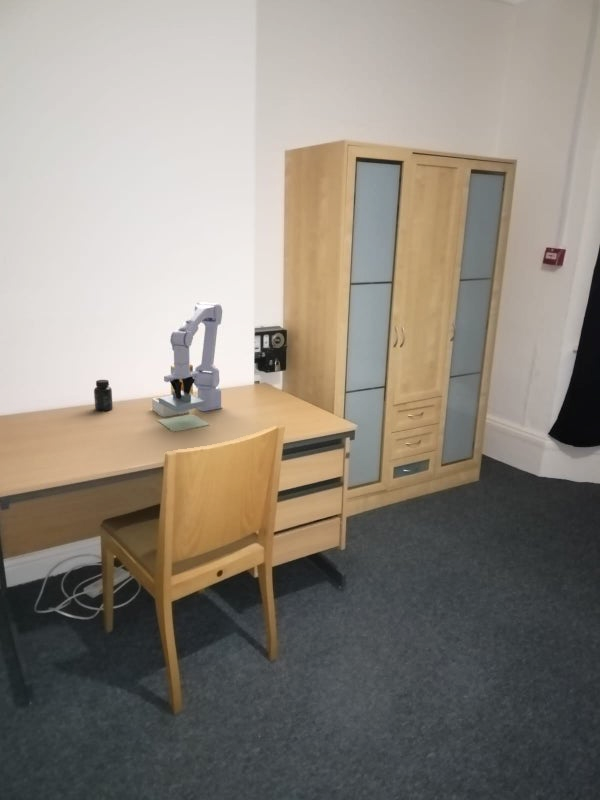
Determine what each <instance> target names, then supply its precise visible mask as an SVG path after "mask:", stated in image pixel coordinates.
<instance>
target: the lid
mask: <svg viewBox="0 0 600 800" xmlns="http://www.w3.org/2000/svg"><path fill="white" fill-rule="evenodd" d="M158 397H159V403H160V404H162V405H164V406H166V407H168V408H170V409H171V410H173V411H175V412H180V411H185V410H193V409H197V408H199V407H204V406H205V401H204V400H202V399H200V398H198V396H195V395H194V394H193V395H191V394H188V393H186V392H184V391H182V390H181V399H178V398H176V394H175V391H173V395H171V394H170V395H165V396H158Z"/></svg>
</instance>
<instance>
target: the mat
mask: <svg viewBox="0 0 600 800" xmlns="http://www.w3.org/2000/svg"><path fill="white" fill-rule="evenodd" d="M156 422H158V423H159V422H160V424H161V425H162V424H163V427H165V428H167V429H169V430H170V431H171V430H172V432H173V433H175V431H176V432H180V431H181V432H182V431H186V430H191V428H192V429H197V428H196V427H198V428H203V427H207V426H208V427H209V426H210V423H208V422H206V421H205V420H203V419H202V418H199V416H196V415H194V414H192V413H190V414H189V413H188V414H182V415H176V416H170V417H164V418H160V419H156ZM202 426H203V427H202Z"/></svg>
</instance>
